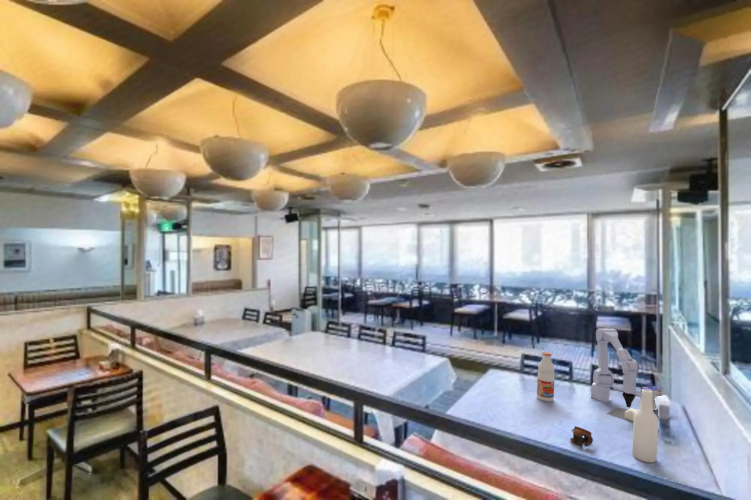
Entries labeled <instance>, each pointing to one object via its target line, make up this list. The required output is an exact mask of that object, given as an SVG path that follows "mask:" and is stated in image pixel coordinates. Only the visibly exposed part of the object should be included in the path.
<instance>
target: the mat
mask: <svg viewBox="0 0 751 500" xmlns="http://www.w3.org/2000/svg"><path fill="white" fill-rule="evenodd" d="M627 410H628V409H626V408H623V407H620V406H617V407H615V408H613V409H612V410H609V411H608V412H606V414H607V415H609V416H612V417H615V418H618V419H621V420H624V421H627V422H628V423H629V422H630V423H632V424H634V421H632V420H629V419H626V418H624V416H625V411H627Z"/></svg>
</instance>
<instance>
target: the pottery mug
mask: <svg viewBox="0 0 751 500" xmlns="http://www.w3.org/2000/svg"><path fill="white" fill-rule="evenodd" d="M570 431H571V432H572V437H570V440H569V441H570V443H571V444H573V445H576V446H577V447H580V448H584V447H589V446H590V445H592V444H593V442H594V438H593V437H592V435H593V434H592V432H591V431H589V430H587V429H585V428H582V427H579V426H576V425H575V426H574V428H573V429H572V430H570ZM583 446H584V447H583Z"/></svg>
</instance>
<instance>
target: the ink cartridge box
mask: <svg viewBox="0 0 751 500" xmlns="http://www.w3.org/2000/svg"><path fill="white" fill-rule="evenodd" d="M646 385H647V386H642V387H641V386H640V393H641V392H642V391H641V390H642V389H648V390H651V391H652V392H653V393H652V405H653V409H655V408H656V405H655V400H654V399H655V397H657V396H662V397H663V389H662V388H660V387H657V386H654V385H653V383H652V382H647V383H646Z"/></svg>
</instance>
